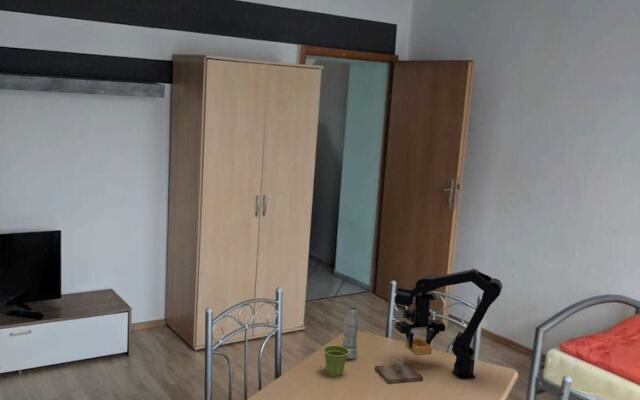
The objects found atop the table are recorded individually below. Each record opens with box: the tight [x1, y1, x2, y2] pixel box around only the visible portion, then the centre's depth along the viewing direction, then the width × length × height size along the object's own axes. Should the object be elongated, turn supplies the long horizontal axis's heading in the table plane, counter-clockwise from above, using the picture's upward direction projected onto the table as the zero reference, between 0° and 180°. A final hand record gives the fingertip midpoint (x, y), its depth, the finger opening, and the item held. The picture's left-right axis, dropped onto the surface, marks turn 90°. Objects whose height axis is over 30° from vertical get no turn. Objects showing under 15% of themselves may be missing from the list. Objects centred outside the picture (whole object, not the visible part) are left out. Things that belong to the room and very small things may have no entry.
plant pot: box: [323, 345, 349, 377], centre depth 242 cm, size 9×9×9 cm
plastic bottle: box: [341, 306, 361, 360], centre depth 255 cm, size 6×7×20 cm
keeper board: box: [374, 356, 424, 385], centre depth 244 cm, size 14×12×7 cm
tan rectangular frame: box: [404, 337, 433, 356], centre depth 253 cm, size 7×9×3 cm
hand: (418, 347), depth 253 cm, fingers closed on tan rectangular frame, 7 cm apart
